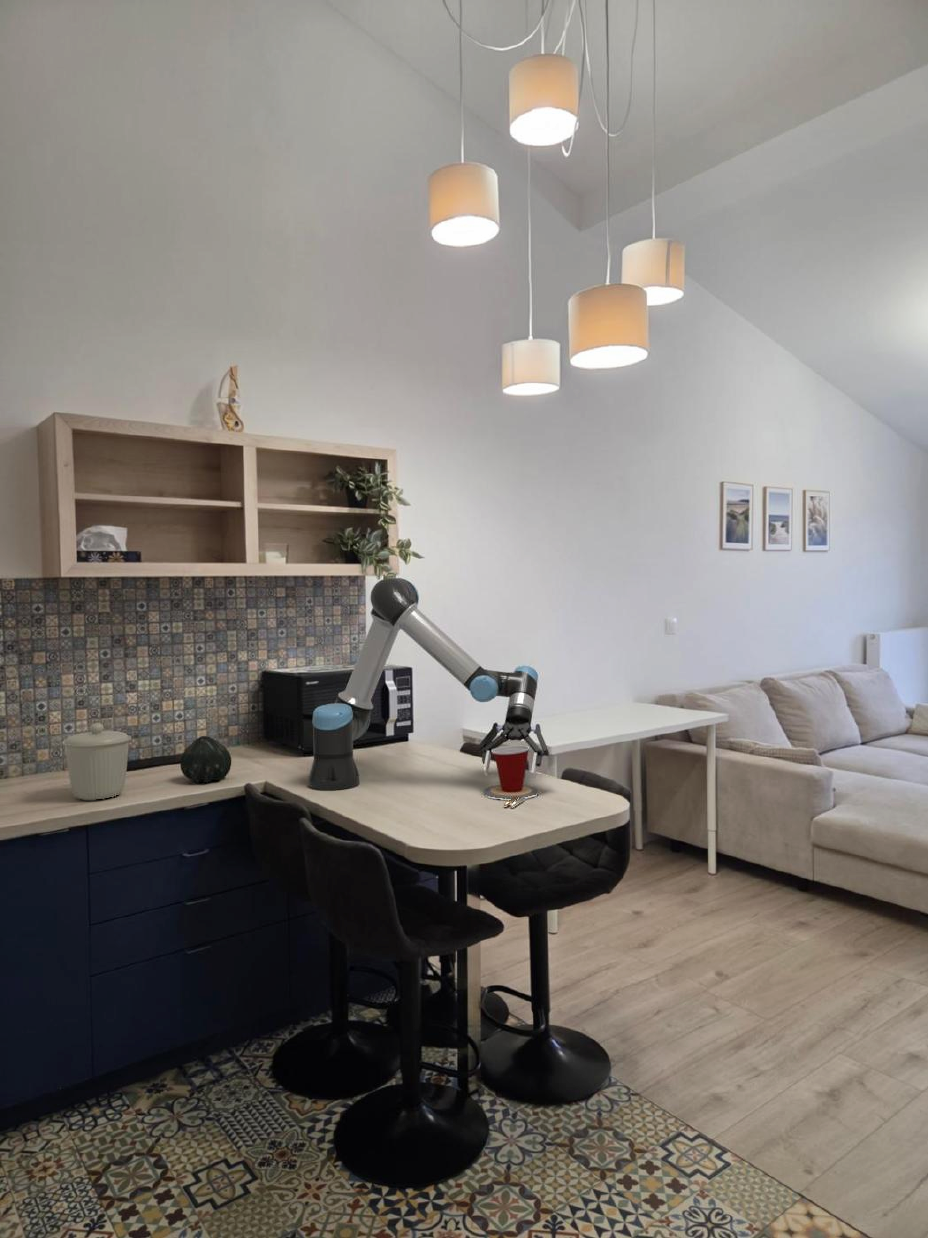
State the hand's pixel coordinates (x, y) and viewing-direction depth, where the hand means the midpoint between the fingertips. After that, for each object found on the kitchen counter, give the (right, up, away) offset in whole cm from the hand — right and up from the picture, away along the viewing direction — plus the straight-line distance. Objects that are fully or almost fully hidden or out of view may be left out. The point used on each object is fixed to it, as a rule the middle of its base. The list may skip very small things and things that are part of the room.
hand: (509, 774), depth 235 cm
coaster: (+1, -6, +2) cm, 7 cm away
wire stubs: (+1, -6, -9) cm, 11 cm away
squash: (-92, -7, +26) cm, 96 cm away
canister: (-117, -8, +7) cm, 117 cm away
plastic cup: (+1, -5, +3) cm, 6 cm away
